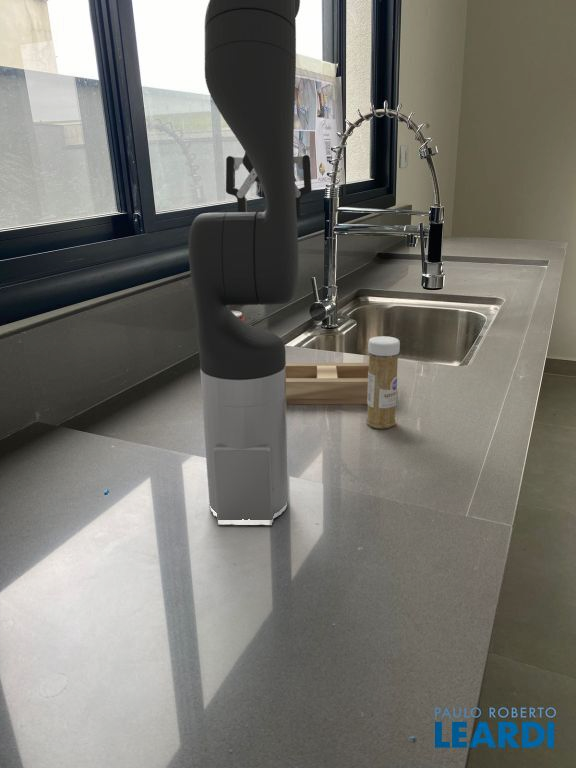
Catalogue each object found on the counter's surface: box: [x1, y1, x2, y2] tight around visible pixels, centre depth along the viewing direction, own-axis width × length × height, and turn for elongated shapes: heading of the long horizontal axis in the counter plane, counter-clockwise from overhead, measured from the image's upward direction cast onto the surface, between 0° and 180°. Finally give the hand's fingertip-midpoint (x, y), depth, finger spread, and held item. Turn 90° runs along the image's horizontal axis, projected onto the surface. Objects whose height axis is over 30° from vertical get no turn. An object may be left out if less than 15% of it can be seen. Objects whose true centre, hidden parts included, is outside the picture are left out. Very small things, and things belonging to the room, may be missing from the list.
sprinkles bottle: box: [366, 335, 401, 430], centre depth 91 cm, size 5×5×13 cm
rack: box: [286, 362, 369, 405], centre depth 105 cm, size 10×20×4 cm, turn 88°
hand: (269, 220), depth 103 cm, fingers open, 8 cm apart
